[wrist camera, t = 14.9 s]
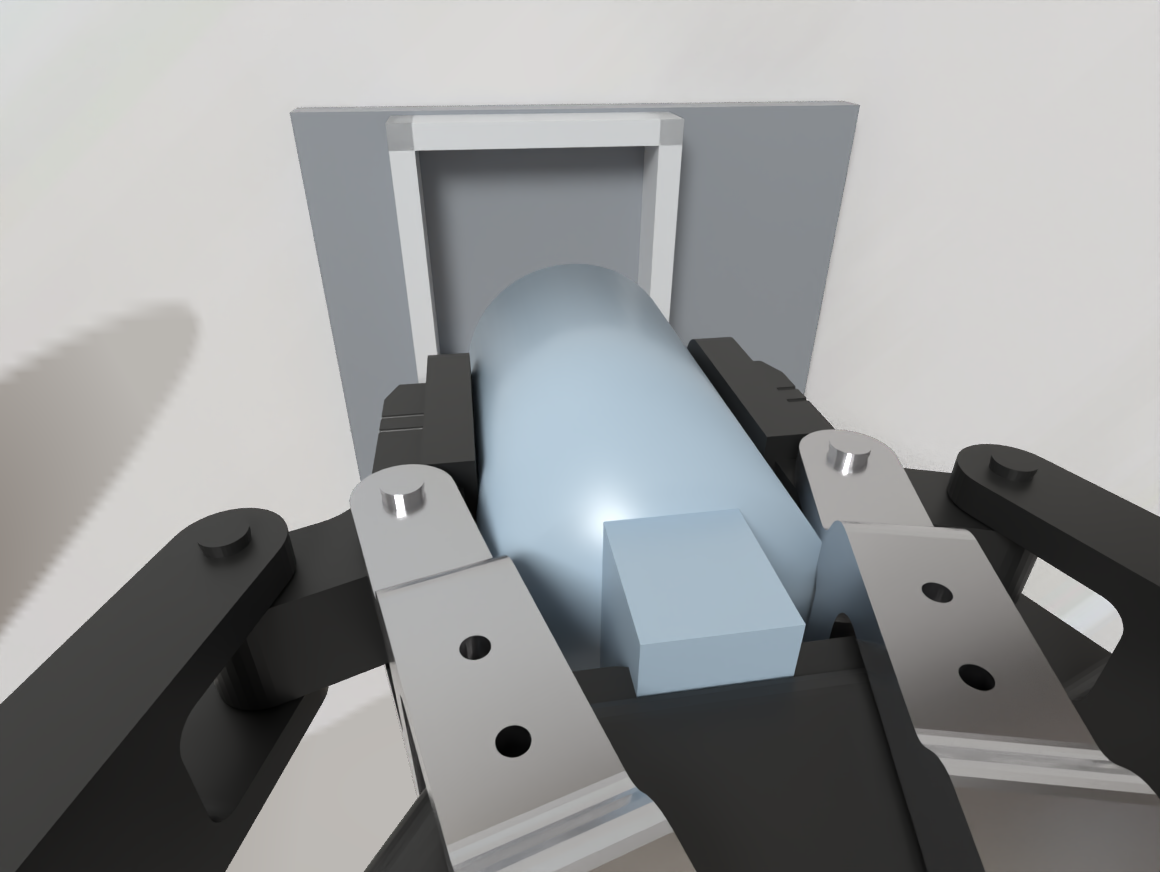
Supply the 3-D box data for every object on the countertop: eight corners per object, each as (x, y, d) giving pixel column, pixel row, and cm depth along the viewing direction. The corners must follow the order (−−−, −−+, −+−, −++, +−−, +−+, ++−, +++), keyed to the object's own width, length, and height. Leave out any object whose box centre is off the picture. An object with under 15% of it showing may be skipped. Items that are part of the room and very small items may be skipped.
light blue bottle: (676, 258, 13) (963, 572, 6) (663, 441, 15) (860, 841, 8) (459, 268, 12) (472, 628, 5) (476, 457, 15) (502, 901, 7)
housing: (842, 100, 20) (888, 111, 18) (771, 496, 27) (797, 537, 25) (297, 107, 18) (276, 120, 16) (376, 532, 25) (369, 579, 23)
